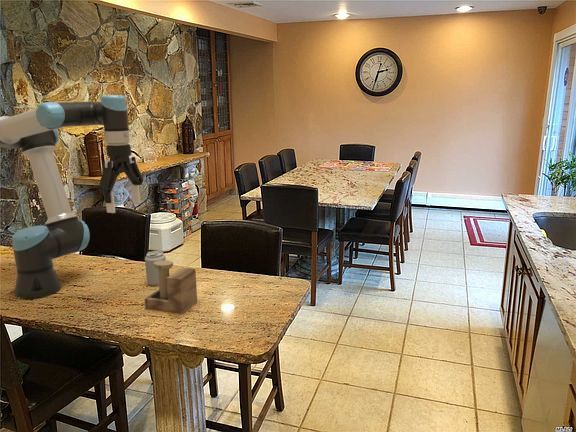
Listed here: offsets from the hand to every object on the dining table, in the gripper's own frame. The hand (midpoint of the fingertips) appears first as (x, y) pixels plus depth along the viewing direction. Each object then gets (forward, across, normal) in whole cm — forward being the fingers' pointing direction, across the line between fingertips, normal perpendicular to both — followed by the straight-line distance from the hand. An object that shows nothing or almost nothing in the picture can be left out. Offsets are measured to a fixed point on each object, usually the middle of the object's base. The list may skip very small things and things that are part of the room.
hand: (124, 208), depth 157 cm
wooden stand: (+33, -1, -17) cm, 37 cm away
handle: (+33, -1, -14) cm, 36 cm away
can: (+33, +15, 0) cm, 36 cm away
